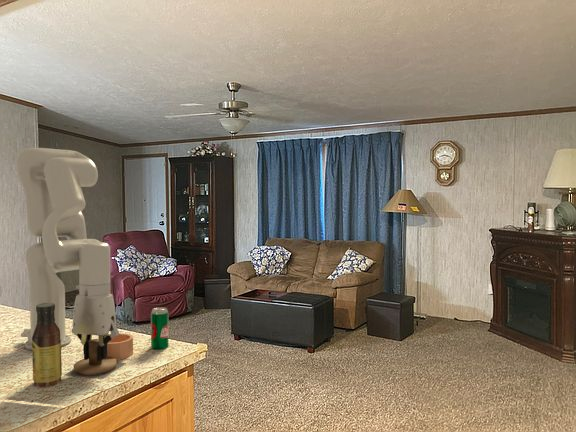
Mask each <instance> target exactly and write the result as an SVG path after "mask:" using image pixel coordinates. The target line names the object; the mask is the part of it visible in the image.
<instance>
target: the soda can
mask: <svg viewBox="0 0 576 432" xmlns="http://www.w3.org/2000/svg"><path fill="white" fill-rule="evenodd" d="M169 345H170V344H169V311H168V307H155V308H152V309H151V313H150V348H151V349H152V350H156V351H159V350H165V349H168V347H169Z"/></svg>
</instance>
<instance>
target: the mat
mask: <svg viewBox="0 0 576 432" xmlns="http://www.w3.org/2000/svg"><path fill="white" fill-rule="evenodd" d="M126 364H127V363H126V362H121V361H119V362H118V361H116V368H115V369H113V370H111V371H109V372H106V373H103V374H98V375H79V374H76V373H75V372H74V368H73V369H71V370H70V371H68V372H66V373H65V374H63V376H70V377H78V378H89V379H99V380H104V379H105V378H107V377H108V376H109V375H111V374H112V373H115V371H117V370H119V369H120V368H122V367H124V366H125V365H126Z"/></svg>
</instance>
